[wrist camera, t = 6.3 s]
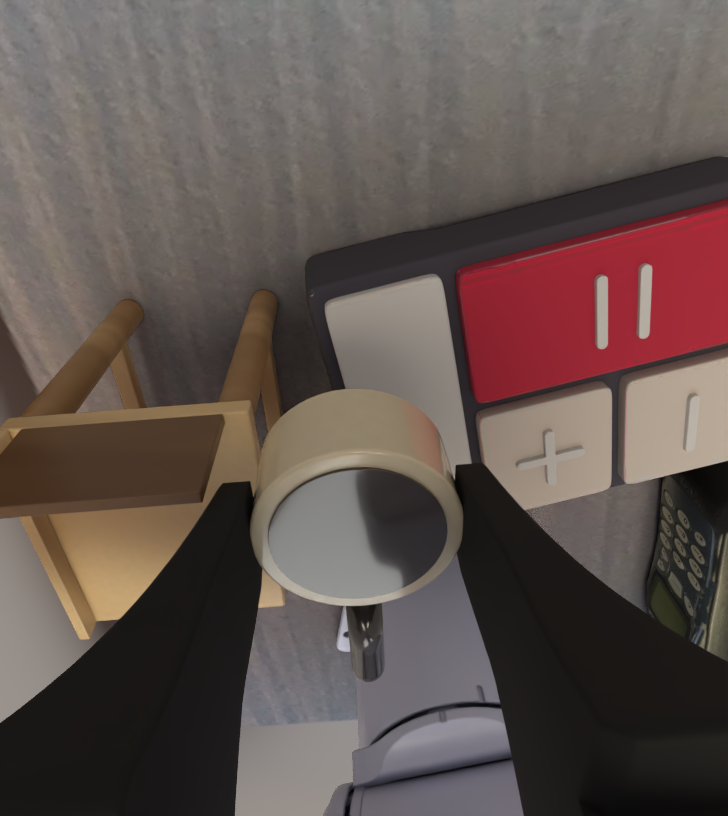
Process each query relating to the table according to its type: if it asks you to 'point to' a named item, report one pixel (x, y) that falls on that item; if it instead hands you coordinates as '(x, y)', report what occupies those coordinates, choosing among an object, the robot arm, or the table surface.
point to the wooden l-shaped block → (121, 494)
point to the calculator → (550, 332)
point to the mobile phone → (693, 558)
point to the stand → (110, 348)
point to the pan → (355, 509)
